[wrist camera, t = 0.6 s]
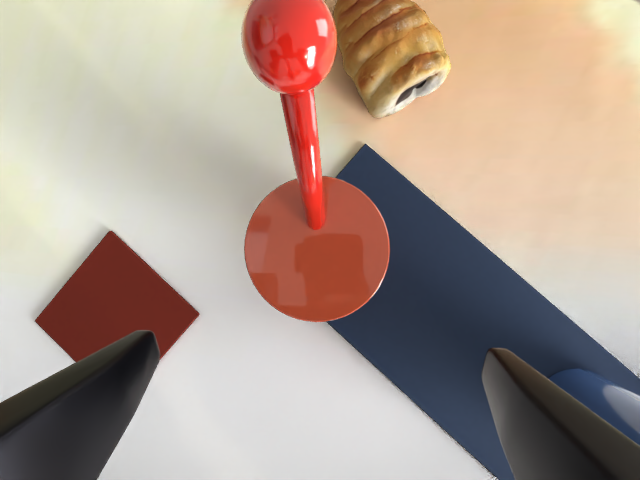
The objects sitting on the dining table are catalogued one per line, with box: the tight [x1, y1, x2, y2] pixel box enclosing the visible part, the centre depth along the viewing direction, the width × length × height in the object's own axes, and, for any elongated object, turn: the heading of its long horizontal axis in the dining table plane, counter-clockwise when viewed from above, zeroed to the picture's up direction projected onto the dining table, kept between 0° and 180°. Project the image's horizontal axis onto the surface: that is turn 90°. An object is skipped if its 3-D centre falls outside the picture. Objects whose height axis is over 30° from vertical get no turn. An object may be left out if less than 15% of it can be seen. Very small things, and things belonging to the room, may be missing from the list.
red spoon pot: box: [241, 0, 390, 322], centre depth 15 cm, size 9×6×17 cm
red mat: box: [35, 231, 199, 362], centre depth 25 cm, size 10×10×1 cm
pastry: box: [334, 0, 451, 118], centre depth 21 cm, size 9×7×4 cm
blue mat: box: [326, 144, 640, 480], centre depth 23 cm, size 12×27×1 cm, turn 48°
